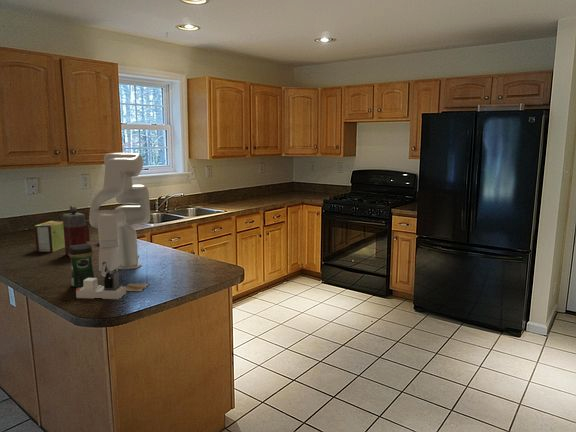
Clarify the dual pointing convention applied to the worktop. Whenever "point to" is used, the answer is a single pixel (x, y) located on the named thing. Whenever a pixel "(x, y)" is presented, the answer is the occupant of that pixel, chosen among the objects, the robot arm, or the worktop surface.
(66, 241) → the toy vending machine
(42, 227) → the protein box
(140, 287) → the coaster
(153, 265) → the worktop surface
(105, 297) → the power strip
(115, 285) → the block
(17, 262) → the worktop surface
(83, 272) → the coffee jar
